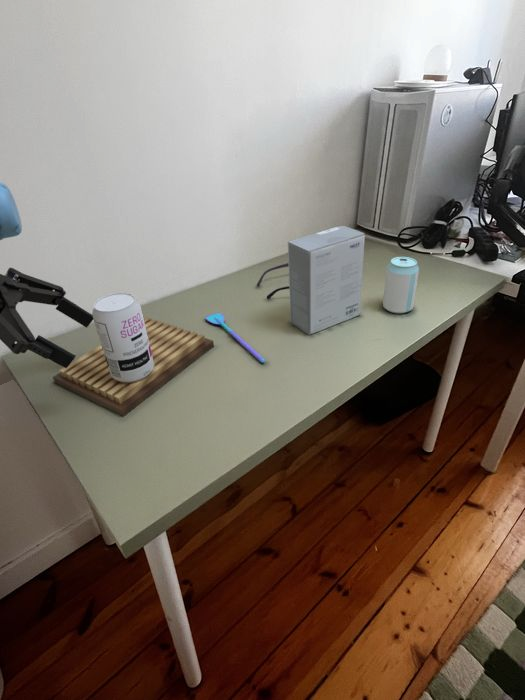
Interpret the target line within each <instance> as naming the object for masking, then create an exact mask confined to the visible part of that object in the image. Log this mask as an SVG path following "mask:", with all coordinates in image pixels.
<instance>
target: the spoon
mask: <svg viewBox="0 0 525 700" xmlns="http://www.w3.org/2000/svg"><path fill="white" fill-rule="evenodd" d="M205 320H206V321H207V322H209V323H211V324H213V325H220V326H221V327H222V328H223V329H224V330H226V331H227V332H228V333H229V335H230V336H232V337H233V338H234V339H235V340H236V341H237V342H238V343H239V344H240V345H241V346H243V347H244V348H245V350H247V351H248V352H249V353H250V354H251V355H252V356H253V357H255V358H256V360H257V361H259V363H261V364H264V363H266V359H265V358H264V357H263V356H261V354H259V353H258V351H256V350H255V349H254V348H253V347H252V346H251V345H250V344H248V343H247V342H246V341H245V340H244V339H243V338H241V337H240V336H239V335H238V334H237V333H236V332H235V331H234V330H232V329H231V328H230V327H229V326H228V325H227V324H226V323H225V321H226V320H225V316H224V315H223V314H222V313H221V312H217V313H216V312H215V313H213V314H211V315H207V316H205Z"/></svg>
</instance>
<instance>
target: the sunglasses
mask: <svg viewBox="0 0 525 700" xmlns="http://www.w3.org/2000/svg"><path fill="white" fill-rule="evenodd" d="M283 268H289V263H288V262H287V263H283V264H279V265H276V266H273V267H270V268H269V269H267V270H265V271H264V272H263V273H262V274H261V276H260V278H259V279H258V281H257V283H256V286H258V287H260V285H261V283H262V281H263V279H264V277H265V275H267V273H269V272H273V271H275V270H278V269H283ZM283 290H289V285H288V286H283V287H278V288H276V289H274V290H273V291H272V292H270V293H269V294H267V296H266V299H267V300H270V299H271V298H272V297H273V296H274V295H275V294H276V293H278V292H279V291H283Z"/></svg>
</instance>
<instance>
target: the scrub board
mask: <svg viewBox="0 0 525 700" xmlns="http://www.w3.org/2000/svg"><path fill="white" fill-rule="evenodd" d="M143 319H144V323H145V327H146V331H147V336H148V340H149V344H150V348H151V353H152V357H153V361H154V368H153V370H152V371H151V372H150V374H149V375H148V376H146V377H145V378H143V379H141V380H139V381H136V382H130V383H125V382H120V381H118V380H115V379H114V378H113V377H111V374H110V371H109V368H108V364H107V361H106V358H105V355H104V351H103V348H102V345H101V344H100V345H99V346H97V347H96V348H94V349H92V350H90V351H89V352H87V353H85V354H83V355H82V356H80V357H79V358H77V359H76V360H75V359H74V360H73V361H72V362H71V363H70V365H69V366H68V367H67V368H64V367H62V368H60V369H59V373H57V374H55V375H53V376H52V379H53V381H54V384H56V385H58V386H61V387H62V388H65V389H66V390H69V391H71V392H73V393H75V394H77V395H78V396H80V397H82V398H84V399H87V400H88V401H91V402H93V403H95V404H97V405H99V406H101V407H103V408H105V409H107V410H109V411H111V412H113V413H115V414H117V415H119V416H121V417H125V416H126V415H128V414H129V413H130V412H132V411H133V410H134V409H135V408H137V407H138V406H139V405H141V404H142V403H143V402H144V401H146V400H147V399H149V398H150V397H151V396H152V395H153V394H154V393H156V392H157V391H159V390H160V389H161V388H163V386H165V385H166V384H167V383H169V382H170V381H172V380H173V379H174V378H175V377H176V376H178V375H179V374H180V373H181V372H184V370H185V369H187V368H188V367H190V366H191V365H192V364H193V363H195V362H196V361H197V360H198V359H200V358H202V357H203V356H204V355H205V354H206V353H208V352H209V351H210V350H212V349H213V348H214V347H215V345H214V340H212V339H209V338H206V337H205V334H201V333H199V334H198V332H195V331H193V332H191V330H190V329H185V330H184V328H183V327H178V326H177V325H175V324H170V323H167V322H166V323H165V322H164V321H161V320H158V319H156V318H153V319H152V317H148V316H147V317H145V318H143Z"/></svg>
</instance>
